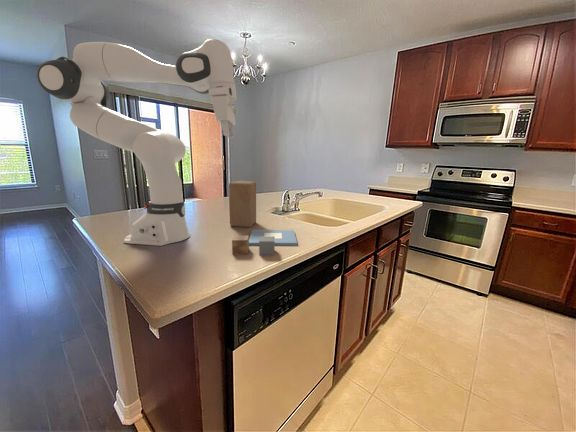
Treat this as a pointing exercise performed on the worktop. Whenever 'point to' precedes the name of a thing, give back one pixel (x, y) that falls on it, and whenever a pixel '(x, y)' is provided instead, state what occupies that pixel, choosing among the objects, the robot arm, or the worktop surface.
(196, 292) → the worktop surface
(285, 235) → the board
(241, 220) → the block
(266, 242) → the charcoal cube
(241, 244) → the walnut cube
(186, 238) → the robot arm
